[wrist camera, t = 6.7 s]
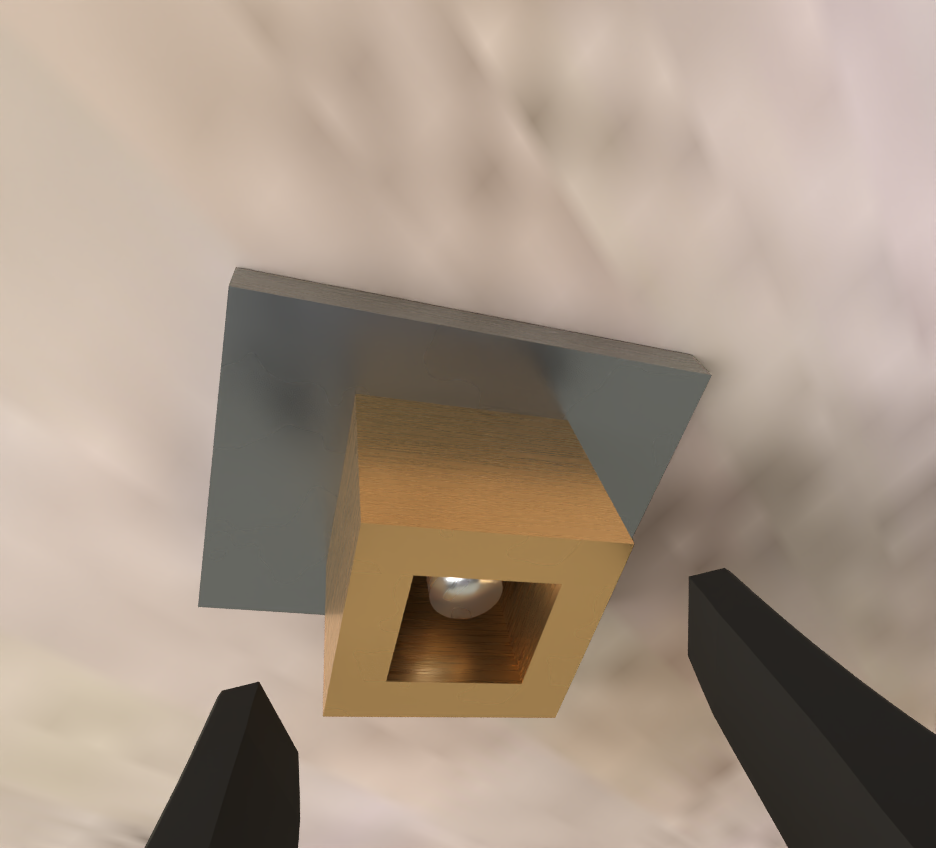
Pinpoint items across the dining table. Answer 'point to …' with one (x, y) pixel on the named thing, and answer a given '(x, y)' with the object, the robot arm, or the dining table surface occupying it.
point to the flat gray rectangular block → (407, 378)
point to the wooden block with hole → (463, 562)
